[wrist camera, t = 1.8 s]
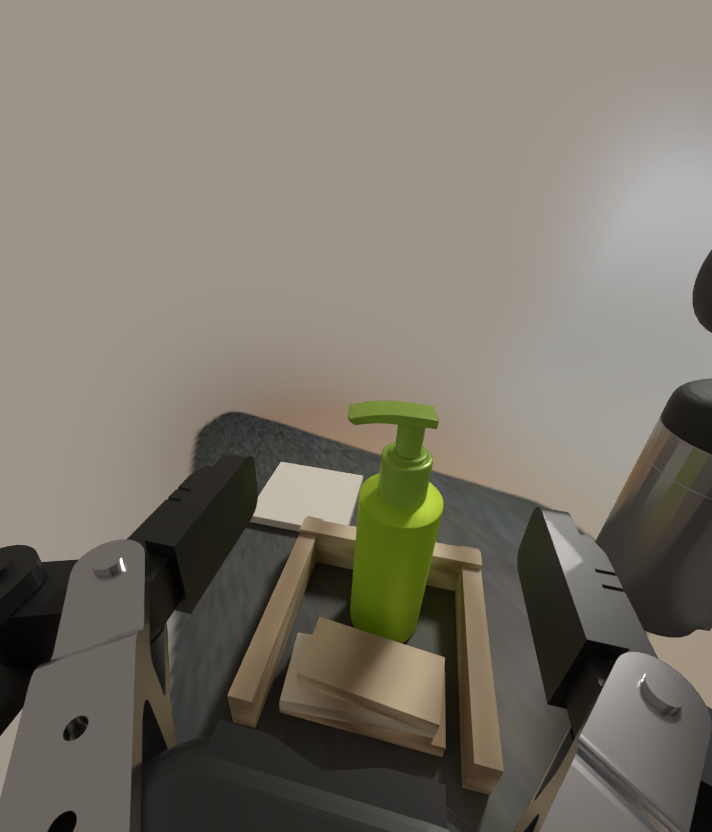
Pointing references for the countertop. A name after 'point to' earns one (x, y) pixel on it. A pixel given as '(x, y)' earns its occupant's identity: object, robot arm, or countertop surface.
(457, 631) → the pine rack
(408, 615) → the soap dispenser
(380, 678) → the offcut stack
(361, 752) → the countertop surface
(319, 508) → the cream tile
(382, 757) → the countertop surface
